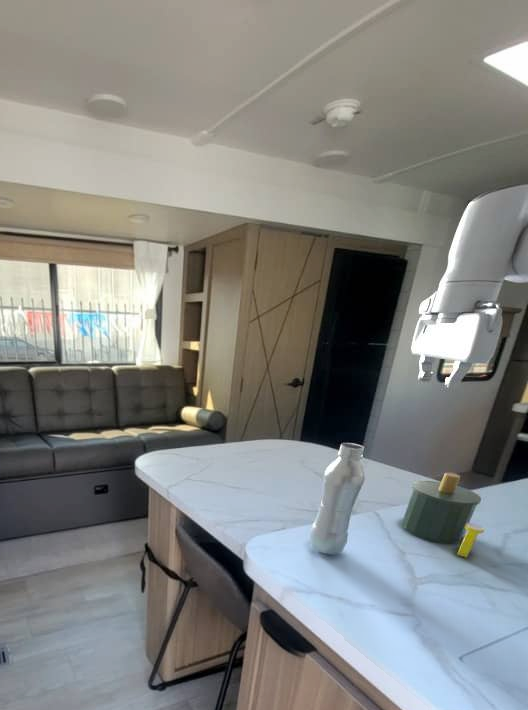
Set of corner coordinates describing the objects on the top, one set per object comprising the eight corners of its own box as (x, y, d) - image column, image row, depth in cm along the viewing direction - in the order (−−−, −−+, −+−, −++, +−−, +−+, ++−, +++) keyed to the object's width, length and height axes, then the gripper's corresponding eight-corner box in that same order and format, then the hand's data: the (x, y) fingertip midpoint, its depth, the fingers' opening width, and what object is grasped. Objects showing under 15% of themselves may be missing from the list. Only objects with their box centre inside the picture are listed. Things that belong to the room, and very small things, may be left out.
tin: (446, 522, 89) (460, 487, 85) (471, 546, 79) (489, 507, 76) (394, 517, 90) (406, 482, 87) (413, 539, 81) (427, 501, 77)
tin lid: (460, 489, 86) (469, 468, 84) (491, 511, 76) (502, 488, 74) (402, 483, 87) (409, 463, 85) (425, 504, 77) (434, 482, 75)
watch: (457, 545, 79) (469, 518, 77) (474, 551, 78) (487, 523, 75) (451, 556, 76) (463, 528, 73) (468, 562, 74) (482, 534, 71)
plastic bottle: (308, 555, 74) (335, 449, 65) (304, 538, 80) (328, 439, 71) (346, 561, 72) (379, 454, 64) (339, 543, 78) (368, 442, 70)
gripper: (527, 300, 61) (490, 394, 67) (450, 305, 79) (426, 378, 85) (482, 299, 62) (449, 392, 68) (416, 304, 80) (395, 377, 86)
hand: (436, 384), depth 77 cm, fingers open, 8 cm apart
